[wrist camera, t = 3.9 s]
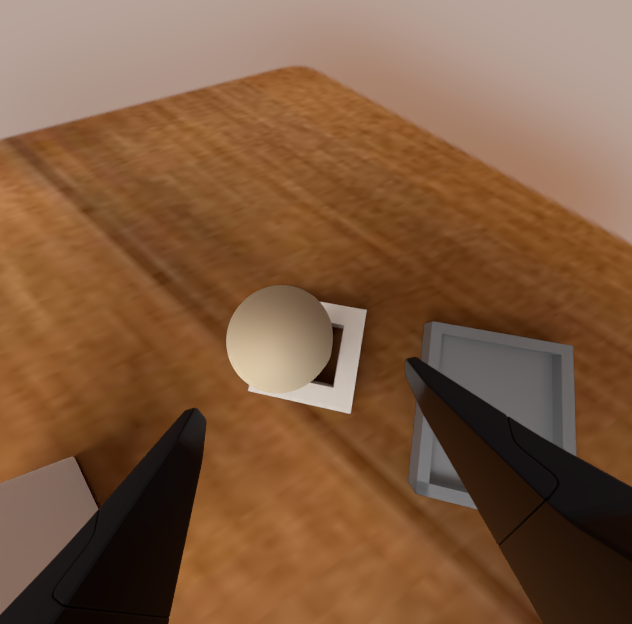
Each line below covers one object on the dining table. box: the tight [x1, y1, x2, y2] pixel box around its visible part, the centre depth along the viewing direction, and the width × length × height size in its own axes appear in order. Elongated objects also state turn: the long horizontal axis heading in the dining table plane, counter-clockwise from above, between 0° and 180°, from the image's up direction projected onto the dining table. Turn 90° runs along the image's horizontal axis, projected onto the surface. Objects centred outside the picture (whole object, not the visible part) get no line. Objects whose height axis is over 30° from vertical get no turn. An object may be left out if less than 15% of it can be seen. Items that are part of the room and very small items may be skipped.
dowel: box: [226, 285, 333, 393], centre depth 13 cm, size 4×4×12 cm
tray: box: [408, 321, 576, 509], centre depth 16 cm, size 12×10×2 cm
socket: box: [248, 302, 367, 414], centre depth 18 cm, size 8×8×2 cm
